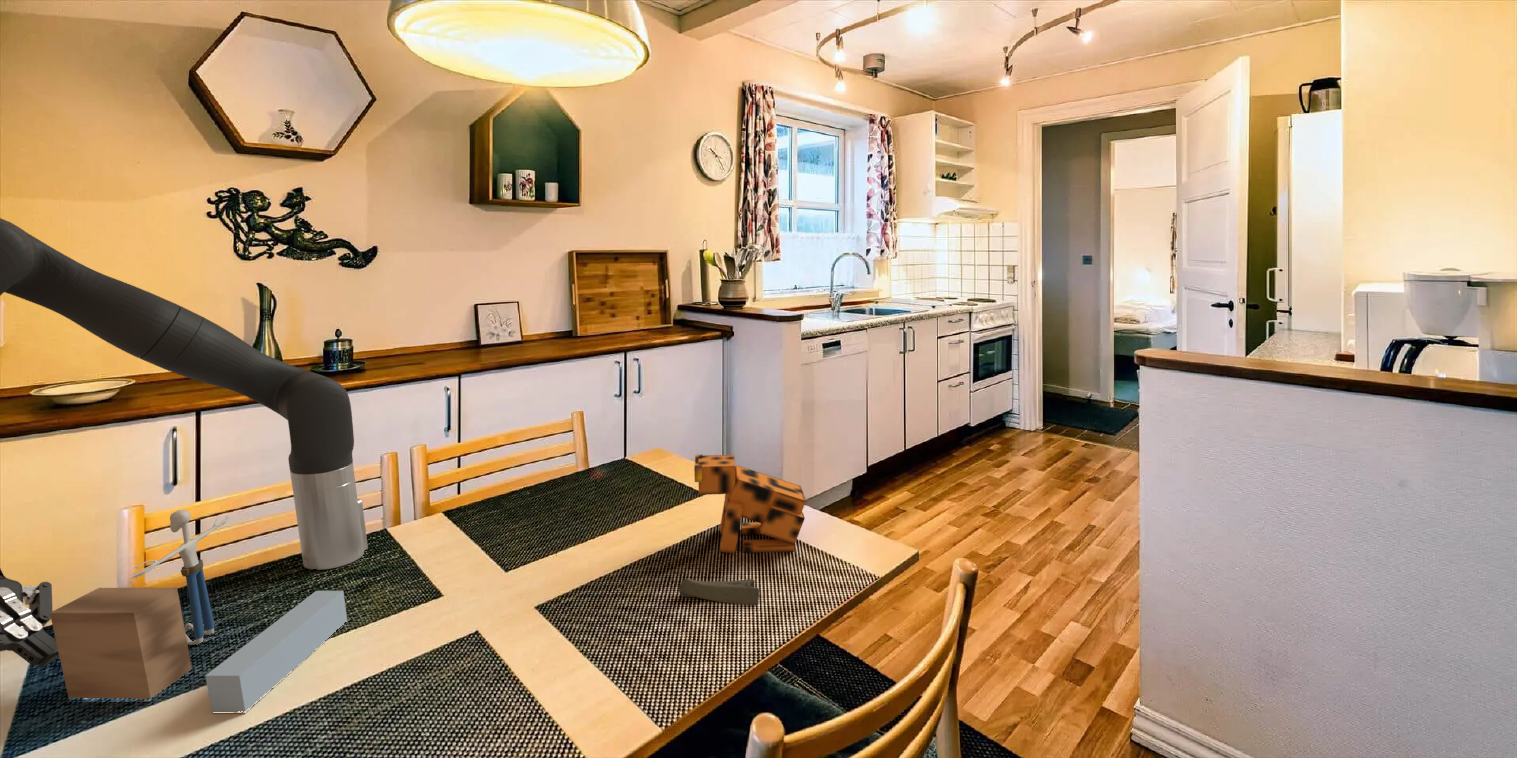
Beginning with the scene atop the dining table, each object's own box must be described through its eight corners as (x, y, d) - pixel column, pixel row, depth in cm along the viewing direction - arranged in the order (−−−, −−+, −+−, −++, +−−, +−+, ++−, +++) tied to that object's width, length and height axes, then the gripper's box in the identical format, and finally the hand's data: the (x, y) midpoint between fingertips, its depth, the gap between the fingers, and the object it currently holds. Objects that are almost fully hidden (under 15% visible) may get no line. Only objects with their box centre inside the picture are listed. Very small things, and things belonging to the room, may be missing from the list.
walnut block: (116, 672, 88) (98, 587, 86) (192, 672, 88) (177, 587, 85) (69, 703, 82) (49, 612, 80) (151, 703, 82) (133, 612, 80)
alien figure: (216, 605, 104) (196, 487, 101) (254, 602, 105) (235, 485, 101) (113, 687, 85) (84, 543, 81) (161, 683, 86) (134, 541, 82)
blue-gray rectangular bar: (320, 622, 99) (316, 590, 98) (347, 622, 99) (343, 590, 98) (212, 713, 80) (205, 675, 79) (245, 713, 80) (239, 675, 79)
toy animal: (806, 551, 122) (807, 467, 119) (696, 554, 121) (694, 470, 118) (799, 527, 132) (800, 450, 130) (697, 530, 131) (695, 452, 128)
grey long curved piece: (762, 590, 109) (762, 569, 108) (758, 607, 104) (758, 586, 103) (684, 586, 110) (683, 566, 109) (677, 603, 105) (676, 582, 105)
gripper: (-122, 573, 75) (11, 672, 77) (9, 525, 88) (119, 611, 90) (-157, 617, 76) (-24, 714, 78) (-22, 563, 89) (88, 647, 91)
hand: (53, 659), depth 84 cm, fingers closed
